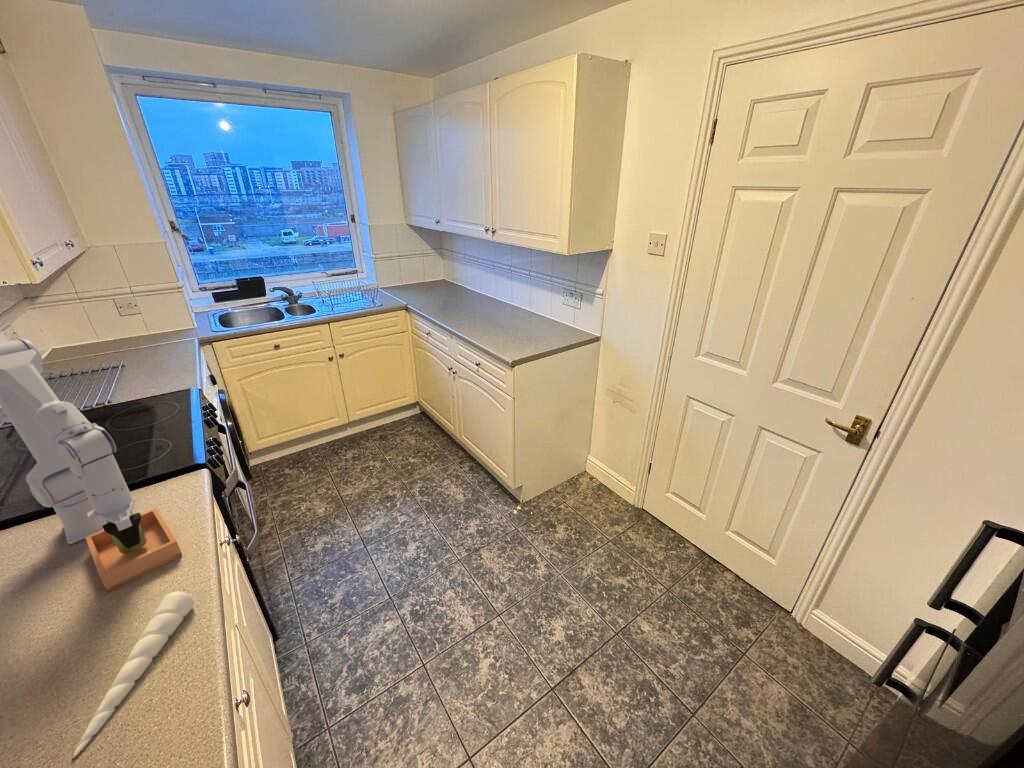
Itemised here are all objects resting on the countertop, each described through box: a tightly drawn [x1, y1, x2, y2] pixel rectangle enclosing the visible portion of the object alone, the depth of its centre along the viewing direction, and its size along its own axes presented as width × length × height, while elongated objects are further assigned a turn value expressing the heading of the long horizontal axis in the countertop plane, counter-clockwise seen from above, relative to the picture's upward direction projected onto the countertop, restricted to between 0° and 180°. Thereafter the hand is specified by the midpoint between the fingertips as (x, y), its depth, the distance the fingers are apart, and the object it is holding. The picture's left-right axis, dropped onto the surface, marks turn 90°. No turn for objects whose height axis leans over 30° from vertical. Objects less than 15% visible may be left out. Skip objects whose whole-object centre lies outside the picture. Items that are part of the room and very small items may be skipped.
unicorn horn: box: [73, 591, 195, 755], centre depth 66 cm, size 5×24×5 cm, turn 1°
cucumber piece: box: [106, 512, 147, 554], centre depth 87 cm, size 4×4×7 cm
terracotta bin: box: [85, 507, 183, 593], centre depth 88 cm, size 16×12×4 cm
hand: (130, 539), depth 87 cm, fingers closed on cucumber piece, 4 cm apart
